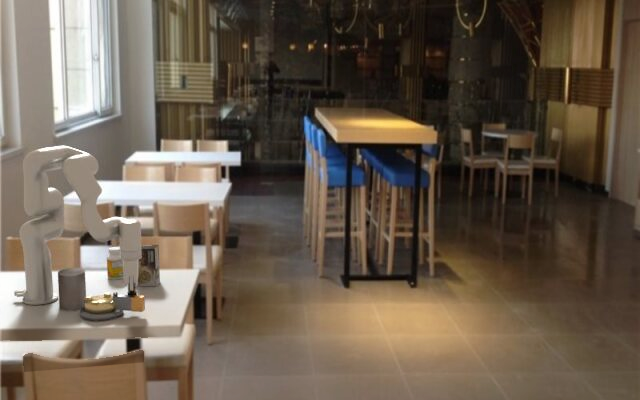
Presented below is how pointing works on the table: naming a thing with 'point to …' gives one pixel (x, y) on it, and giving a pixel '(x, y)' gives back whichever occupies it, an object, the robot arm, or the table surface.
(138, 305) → the gold disc lever
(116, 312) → the base plate
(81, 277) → the pillar candle
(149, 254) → the coffee box
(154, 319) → the table surface
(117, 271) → the supplement bottle
